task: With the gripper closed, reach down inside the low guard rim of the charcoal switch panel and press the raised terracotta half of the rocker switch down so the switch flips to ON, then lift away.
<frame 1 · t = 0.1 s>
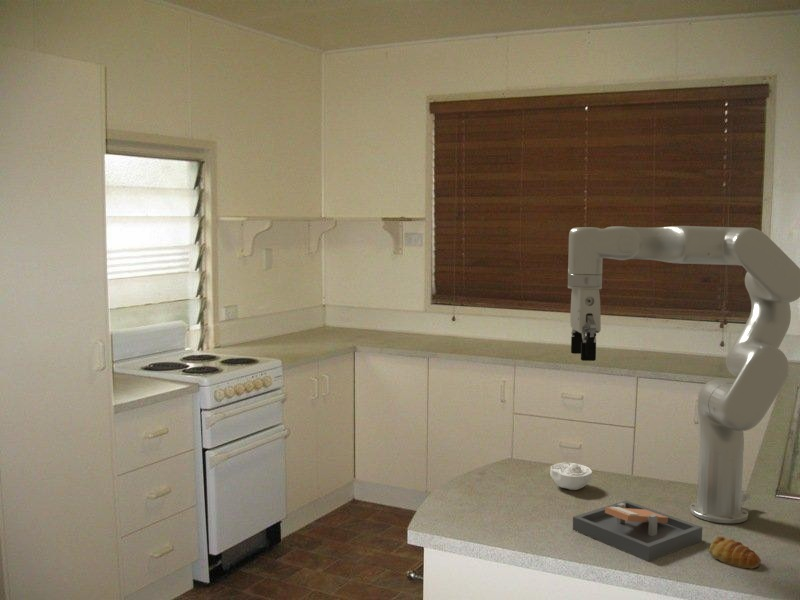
hand: (582, 356, 178), 37 cm above the counter, tool pointing down, fingers open, 9 cm apart
pastry: (732, 560, 158), on the counter
rocker: (636, 514, 169), point 5 cm above the counter, hinge at -14.0°
breaker panel: (636, 535, 170), on the counter
cell model: (570, 488, 201), on the counter
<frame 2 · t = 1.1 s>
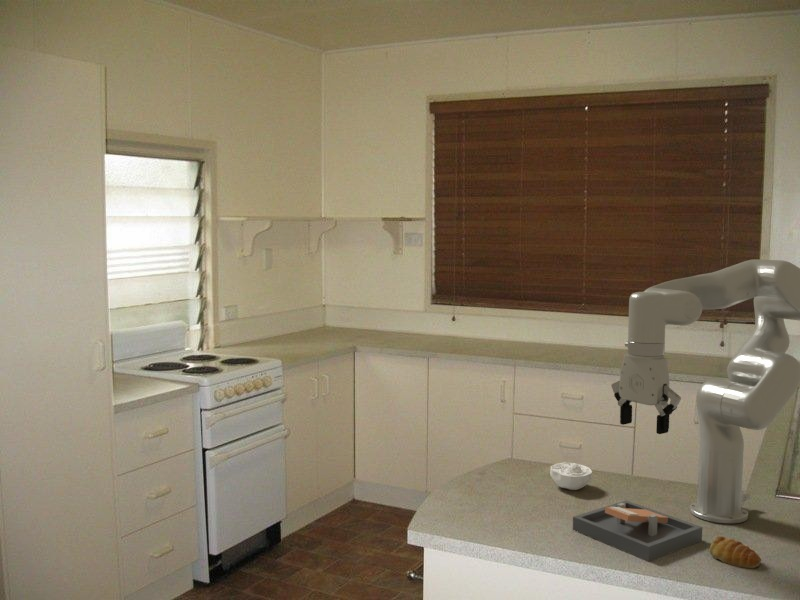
hand: (643, 428, 169), 23 cm above the counter, tool pointing down, fingers open, 9 cm apart
nothing on the counter moved.
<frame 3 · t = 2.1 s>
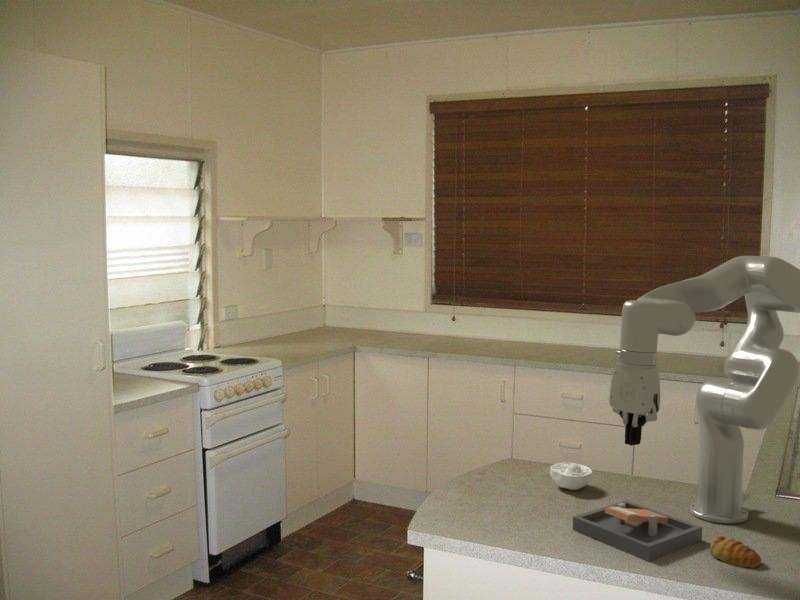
hand: (632, 443, 167), 21 cm above the counter, tool pointing down, fingers closed
nothing on the counter moved.
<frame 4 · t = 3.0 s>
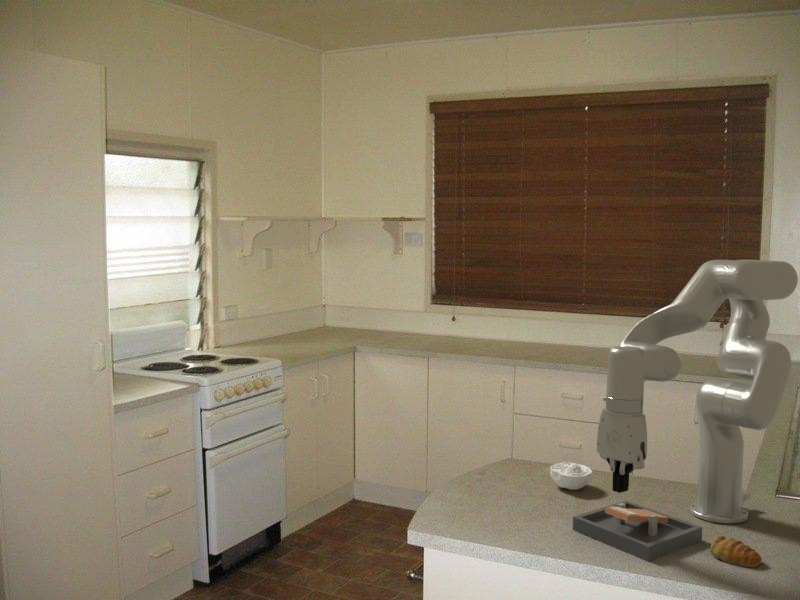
hand: (620, 490, 165), 11 cm above the counter, tool pointing down, fingers closed
nothing on the counter moved.
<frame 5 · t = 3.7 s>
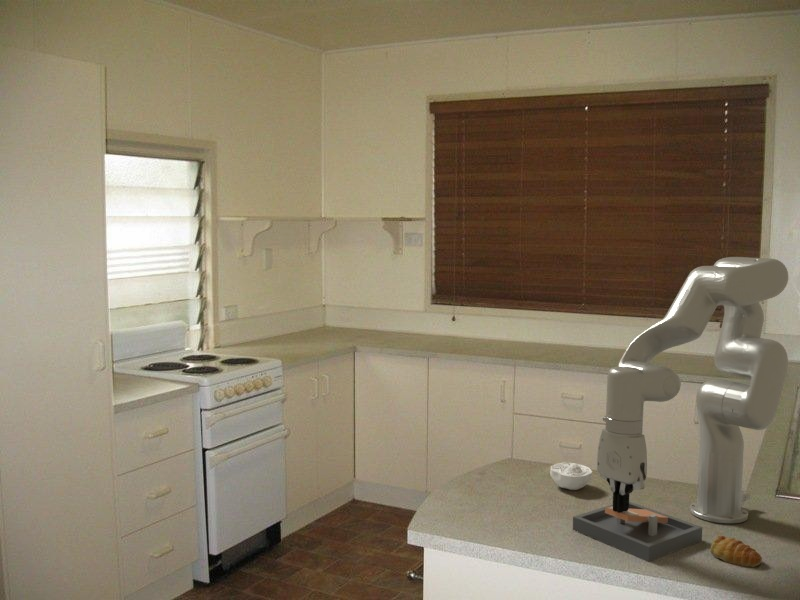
hand: (620, 510, 166), 7 cm above the counter, tool pointing down, fingers closed
rocker: (636, 514, 169), point 5 cm above the counter, hinge at -13.9°, touching gripper
everything else where it was.
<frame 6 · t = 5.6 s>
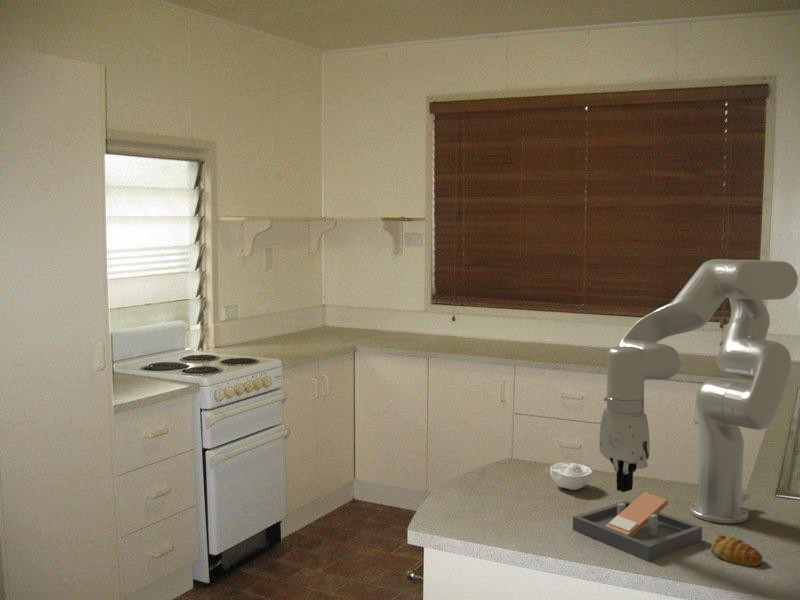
hand: (624, 489, 166), 11 cm above the counter, tool pointing down, fingers closed
rocker: (636, 514, 169), point 5 cm above the counter, hinge at 20.6°, touching breaker panel
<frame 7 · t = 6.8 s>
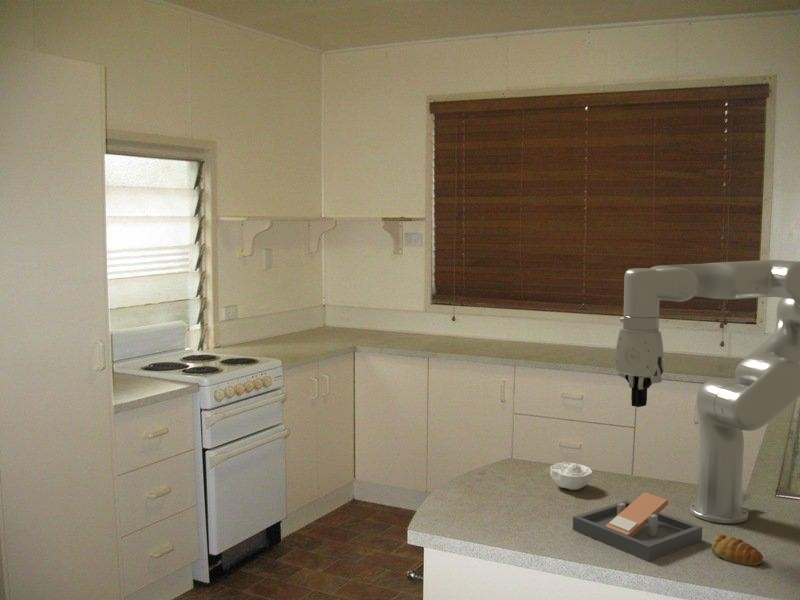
hand: (638, 405, 175), 27 cm above the counter, tool pointing down, fingers closed
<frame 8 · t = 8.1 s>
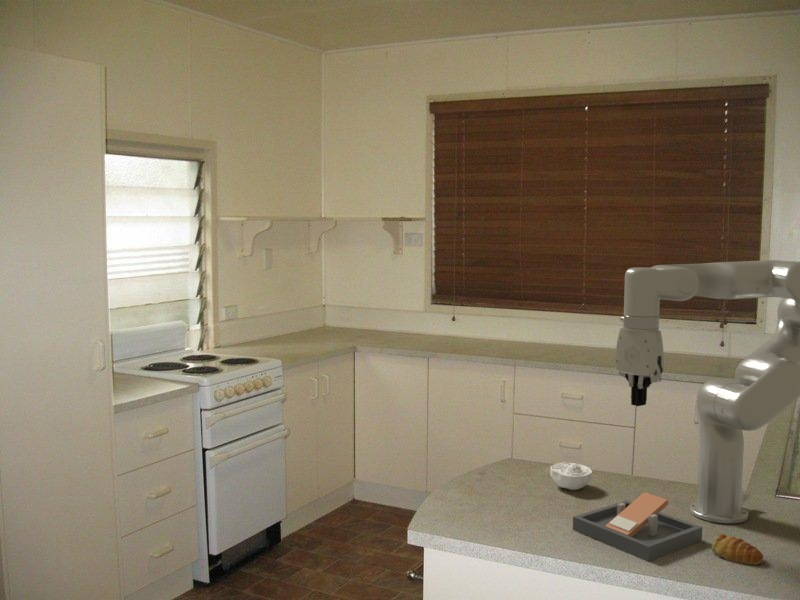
hand: (638, 404, 175), 27 cm above the counter, tool pointing down, fingers closed
at the end: rocker at +20° (first picture: -14°); pastry moved 2.1 cm from its start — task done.
